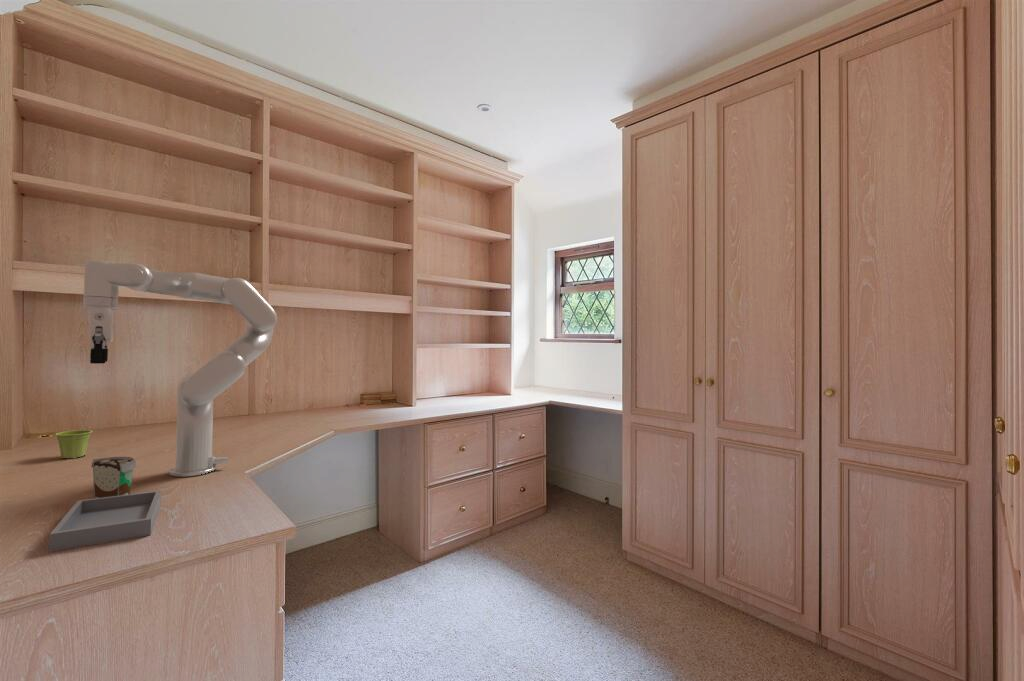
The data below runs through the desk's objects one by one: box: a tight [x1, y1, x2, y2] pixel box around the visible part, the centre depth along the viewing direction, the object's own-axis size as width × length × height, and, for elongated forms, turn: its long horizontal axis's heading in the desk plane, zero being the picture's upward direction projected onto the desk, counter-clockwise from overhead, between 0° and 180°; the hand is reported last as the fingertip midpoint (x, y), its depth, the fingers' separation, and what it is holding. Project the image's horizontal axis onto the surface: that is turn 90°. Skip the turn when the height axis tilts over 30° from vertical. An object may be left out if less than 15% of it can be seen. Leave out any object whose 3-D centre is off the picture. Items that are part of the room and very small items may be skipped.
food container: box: [90, 456, 137, 499], centre depth 124 cm, size 12×6×10 cm, turn 71°
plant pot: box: [55, 429, 93, 459], centre depth 161 cm, size 9×9×9 cm
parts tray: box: [49, 489, 162, 552], centre depth 105 cm, size 16×22×4 cm
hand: (99, 362), depth 133 cm, fingers open, 9 cm apart
